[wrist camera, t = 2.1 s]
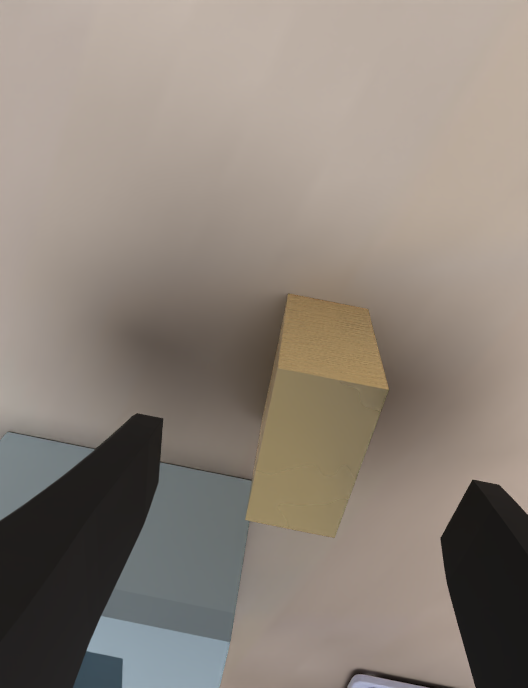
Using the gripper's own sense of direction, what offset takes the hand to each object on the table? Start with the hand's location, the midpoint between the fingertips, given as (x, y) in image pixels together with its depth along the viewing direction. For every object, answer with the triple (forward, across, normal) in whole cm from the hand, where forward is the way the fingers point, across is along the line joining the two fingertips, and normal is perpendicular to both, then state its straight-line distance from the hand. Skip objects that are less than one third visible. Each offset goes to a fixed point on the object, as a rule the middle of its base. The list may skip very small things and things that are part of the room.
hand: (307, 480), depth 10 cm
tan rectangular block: (+5, 0, 0) cm, 5 cm away
